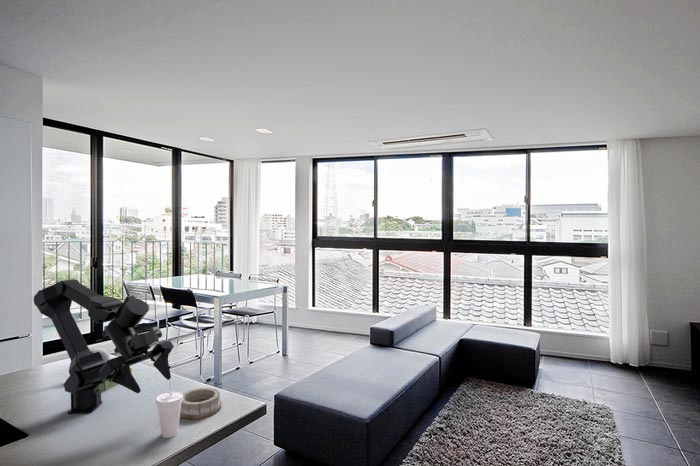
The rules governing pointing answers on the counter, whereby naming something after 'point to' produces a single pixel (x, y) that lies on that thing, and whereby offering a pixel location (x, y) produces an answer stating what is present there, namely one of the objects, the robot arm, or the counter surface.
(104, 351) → the donut
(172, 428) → the smoothie
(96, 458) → the counter surface
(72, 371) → the robot arm
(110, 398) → the counter surface
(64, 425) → the counter surface
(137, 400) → the counter surface
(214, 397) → the stone fire pit
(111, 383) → the medication box
